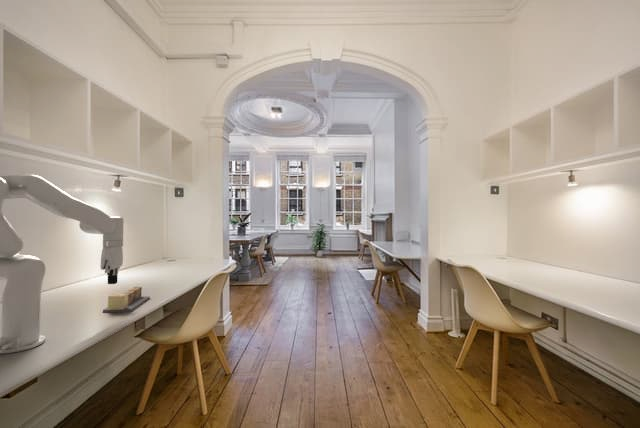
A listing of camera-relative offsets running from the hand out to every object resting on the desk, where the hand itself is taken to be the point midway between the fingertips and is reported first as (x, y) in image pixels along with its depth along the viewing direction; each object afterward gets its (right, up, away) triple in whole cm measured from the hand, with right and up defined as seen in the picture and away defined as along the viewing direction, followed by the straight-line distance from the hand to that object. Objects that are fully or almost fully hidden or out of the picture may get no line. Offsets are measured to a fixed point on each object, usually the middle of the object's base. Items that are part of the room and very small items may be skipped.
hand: (112, 283), depth 130 cm
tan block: (-2, -13, +6) cm, 15 cm away
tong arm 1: (-5, -13, +19) cm, 24 cm away
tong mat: (-4, -15, +16) cm, 22 cm away
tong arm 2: (-3, -14, +20) cm, 24 cm away
